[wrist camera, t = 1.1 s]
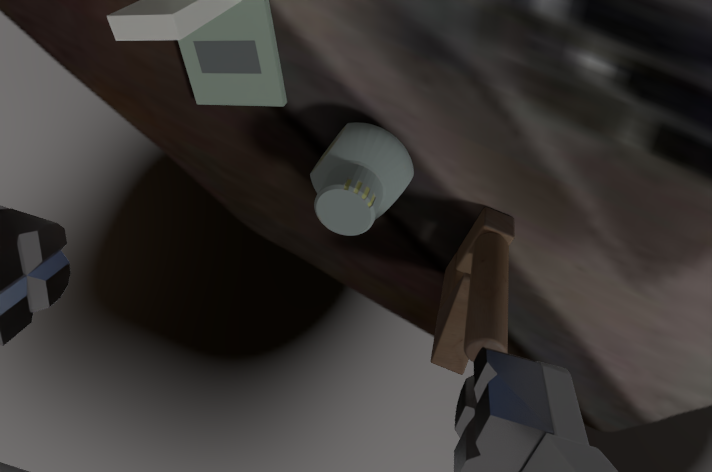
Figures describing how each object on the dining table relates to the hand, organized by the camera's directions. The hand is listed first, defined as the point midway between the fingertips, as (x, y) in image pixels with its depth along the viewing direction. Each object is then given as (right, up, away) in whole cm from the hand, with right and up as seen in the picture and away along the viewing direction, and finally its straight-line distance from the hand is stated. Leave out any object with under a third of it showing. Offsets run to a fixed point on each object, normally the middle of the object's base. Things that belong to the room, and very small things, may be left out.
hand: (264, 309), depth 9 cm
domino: (-11, +24, +36) cm, 44 cm away
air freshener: (+3, +10, +44) cm, 45 cm away
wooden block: (+16, 0, +48) cm, 50 cm away
